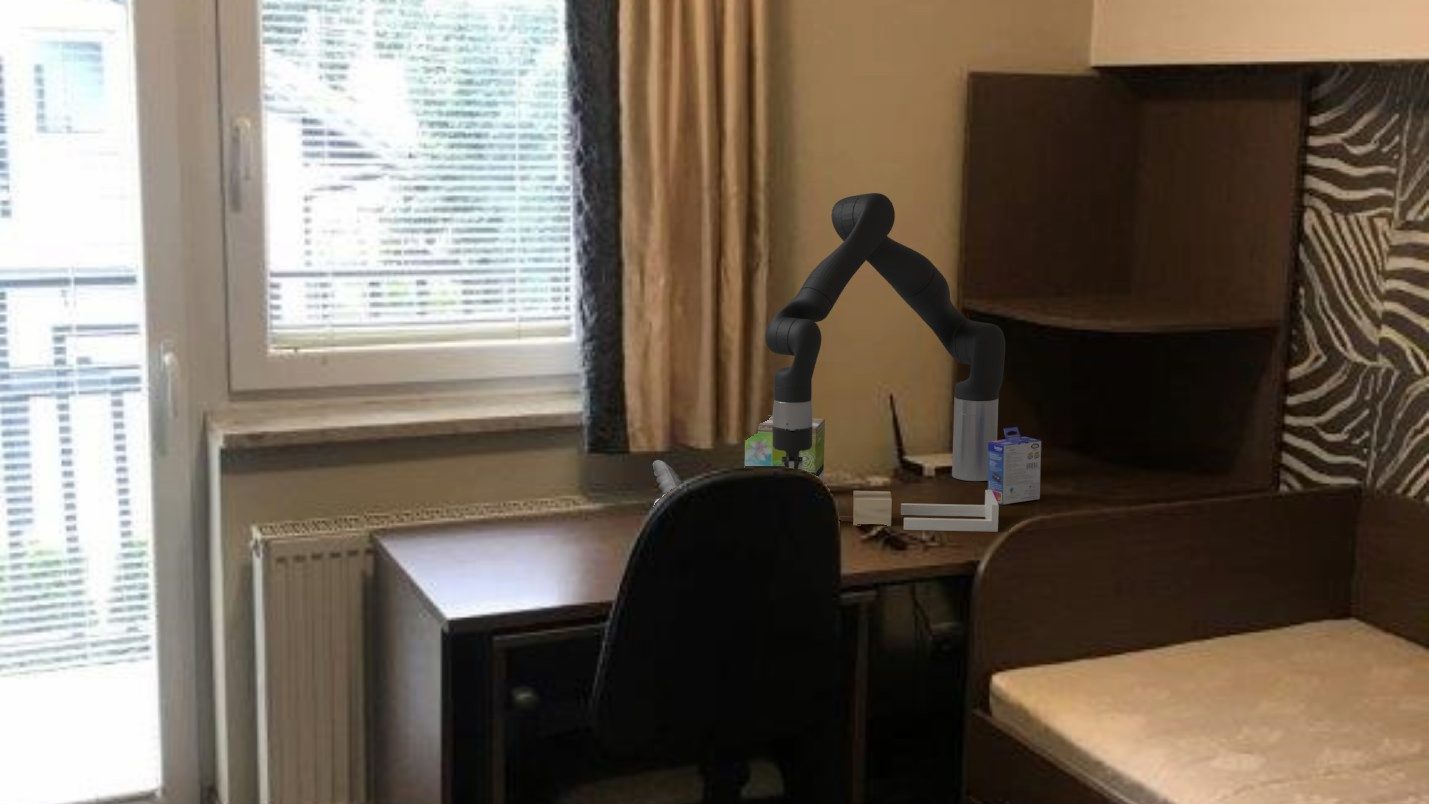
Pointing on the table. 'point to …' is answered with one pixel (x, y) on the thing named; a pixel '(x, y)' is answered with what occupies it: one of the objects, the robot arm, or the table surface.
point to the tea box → (765, 454)
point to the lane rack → (953, 510)
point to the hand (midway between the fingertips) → (791, 507)
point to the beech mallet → (870, 508)
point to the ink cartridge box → (1014, 468)
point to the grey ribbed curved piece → (665, 477)
